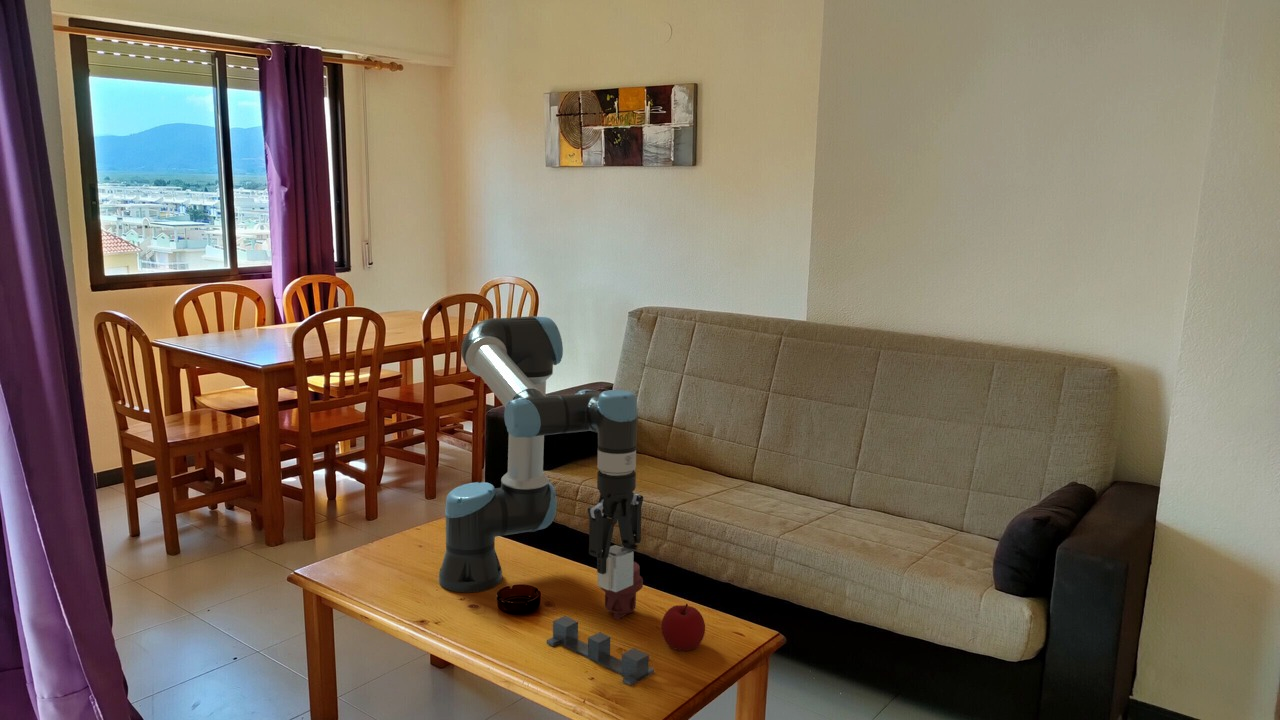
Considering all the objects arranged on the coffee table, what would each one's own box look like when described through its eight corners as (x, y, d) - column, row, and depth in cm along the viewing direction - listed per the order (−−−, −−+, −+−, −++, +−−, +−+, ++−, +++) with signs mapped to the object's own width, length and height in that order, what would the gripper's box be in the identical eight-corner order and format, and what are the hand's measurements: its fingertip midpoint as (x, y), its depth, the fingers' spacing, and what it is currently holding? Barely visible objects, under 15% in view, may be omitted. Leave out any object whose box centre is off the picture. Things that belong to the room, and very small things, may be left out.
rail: (546, 643, 191) (546, 623, 190) (570, 632, 196) (571, 613, 195) (630, 686, 175) (630, 664, 174) (654, 672, 180) (654, 651, 179)
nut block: (597, 585, 179) (597, 550, 178) (615, 578, 183) (615, 543, 182) (615, 592, 176) (616, 556, 175) (633, 584, 180) (633, 549, 179)
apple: (702, 636, 196) (704, 593, 194) (706, 657, 187) (708, 612, 185) (659, 635, 196) (661, 592, 194) (661, 656, 187) (663, 611, 185)
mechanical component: (645, 606, 210) (637, 625, 200) (603, 601, 212) (593, 620, 202) (647, 555, 208) (638, 572, 198) (605, 551, 209) (594, 567, 200)
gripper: (597, 484, 167) (595, 603, 171) (661, 465, 180) (658, 576, 184) (569, 475, 172) (568, 591, 176) (634, 457, 185) (631, 566, 189)
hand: (614, 583), depth 180 cm, fingers closed on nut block, 5 cm apart
